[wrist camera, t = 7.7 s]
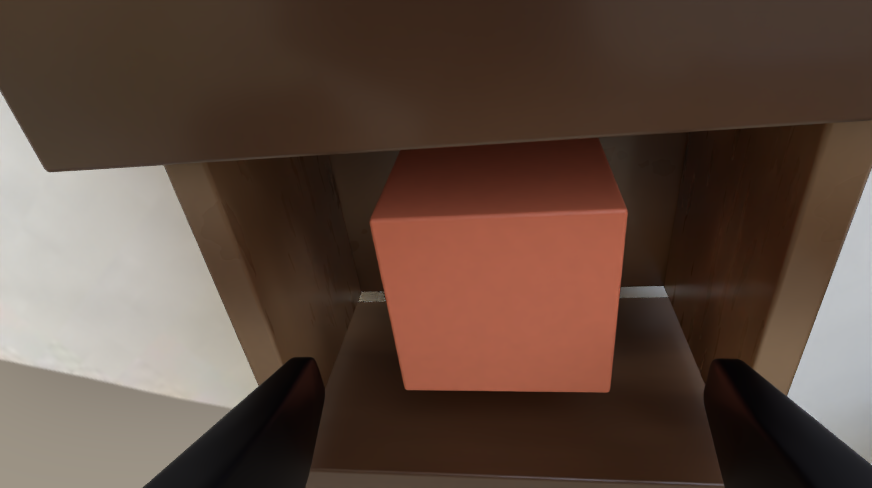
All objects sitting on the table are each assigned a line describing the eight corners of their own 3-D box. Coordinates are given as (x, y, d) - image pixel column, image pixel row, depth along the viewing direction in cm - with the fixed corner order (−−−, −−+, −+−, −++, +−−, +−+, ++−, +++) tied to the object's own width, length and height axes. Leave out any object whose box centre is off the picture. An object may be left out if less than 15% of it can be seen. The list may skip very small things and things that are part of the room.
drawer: (670, 418, 20) (734, 615, 14) (368, 412, 22) (322, 584, 16) (779, -123, 11) (1071, -155, 5) (241, -52, 13) (34, -19, 7)
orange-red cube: (582, 262, 15) (610, 394, 11) (430, 266, 16) (404, 391, 12) (590, 111, 13) (629, 209, 9) (409, 124, 14) (367, 220, 9)
